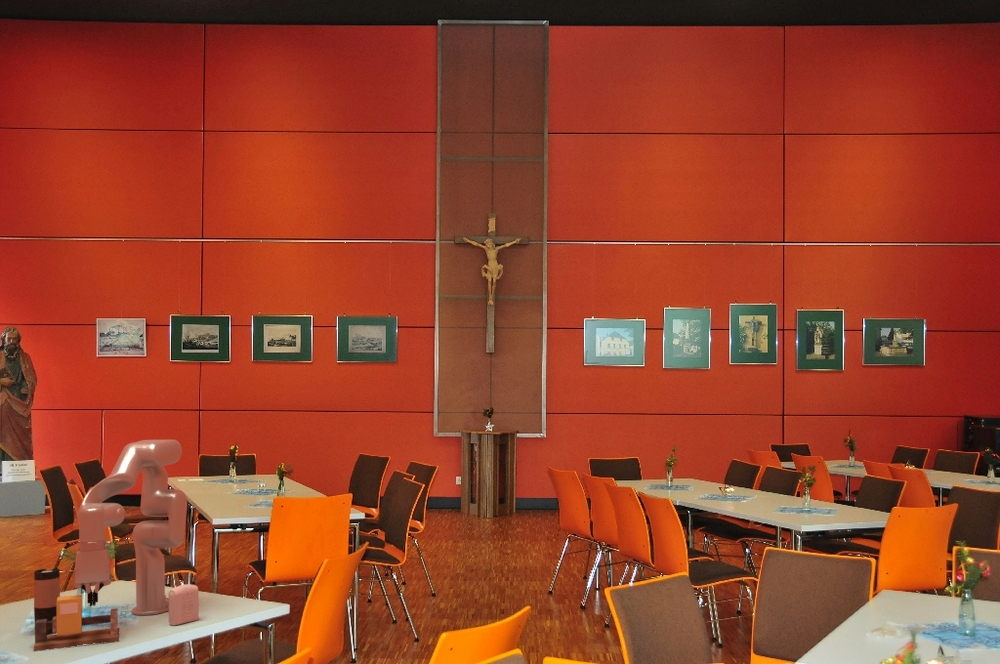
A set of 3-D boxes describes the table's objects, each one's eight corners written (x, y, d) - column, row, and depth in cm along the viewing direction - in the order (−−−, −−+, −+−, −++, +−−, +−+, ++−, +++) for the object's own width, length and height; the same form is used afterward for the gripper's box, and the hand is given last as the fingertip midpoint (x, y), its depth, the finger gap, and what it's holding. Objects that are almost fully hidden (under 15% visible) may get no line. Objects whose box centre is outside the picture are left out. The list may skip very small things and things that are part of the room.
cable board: (119, 632, 310) (119, 605, 311) (119, 641, 299) (118, 613, 300) (37, 641, 302) (37, 614, 302) (33, 651, 291) (33, 622, 291)
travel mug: (43, 636, 307) (43, 573, 308) (29, 633, 312) (29, 571, 312) (65, 630, 314) (64, 569, 315) (50, 628, 318) (50, 567, 319)
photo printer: (192, 618, 327) (192, 581, 327) (200, 619, 324) (200, 582, 325) (166, 625, 318) (166, 587, 319) (174, 626, 316) (174, 588, 317)
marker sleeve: (82, 628, 304) (82, 594, 304) (81, 632, 298) (81, 598, 299) (57, 631, 301) (57, 597, 302) (56, 635, 296) (56, 600, 296)
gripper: (118, 542, 310) (118, 600, 309) (67, 546, 304) (67, 605, 304) (117, 546, 302) (117, 605, 302) (65, 550, 297) (65, 610, 296)
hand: (92, 604), depth 303 cm, fingers closed
